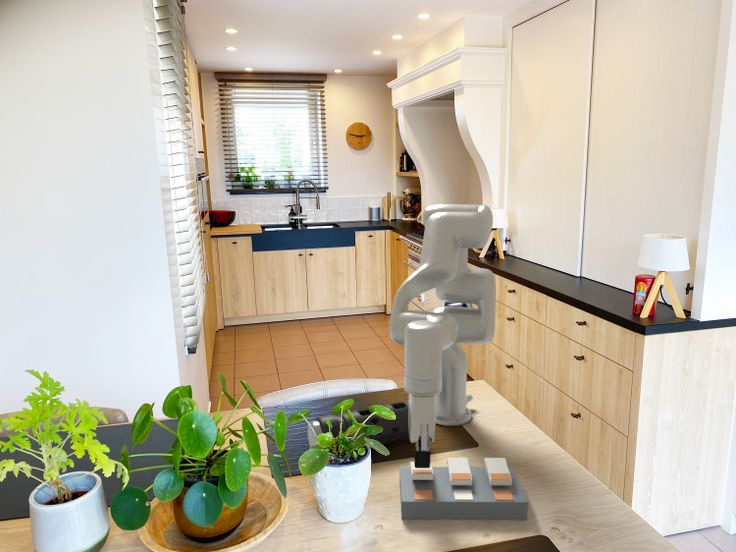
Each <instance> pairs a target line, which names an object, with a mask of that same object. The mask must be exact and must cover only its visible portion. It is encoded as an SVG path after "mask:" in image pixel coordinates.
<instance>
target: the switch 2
mask: <svg viewBox="0 0 736 552" xmlns="http://www.w3.org/2000/svg"><path fill="white" fill-rule="evenodd" d="M446 464H447V465H446V467H448V472H449V478H450V485H472V477H471V472H470V467H471V466H470V463H469V459H468V457H447V458H446Z"/></svg>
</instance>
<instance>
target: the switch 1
mask: <svg viewBox="0 0 736 552" xmlns="http://www.w3.org/2000/svg"><path fill="white" fill-rule="evenodd" d="M409 467H410V468H411V476H412V480H433V470H432V467H433V466H432V462H431V461H430V468H415V464H414V461H409Z"/></svg>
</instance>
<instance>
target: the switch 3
mask: <svg viewBox="0 0 736 552" xmlns="http://www.w3.org/2000/svg"><path fill="white" fill-rule="evenodd" d="M483 460H484V461H483V462H484V467H486V471H487V477H488V480H489V483H490V485H512V479H511V476H510V472H509V469H508V467H509V466H508V463H507V460H506V457H484V459H483Z"/></svg>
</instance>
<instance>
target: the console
mask: <svg viewBox="0 0 736 552" xmlns="http://www.w3.org/2000/svg"><path fill="white" fill-rule="evenodd" d="M469 467H470V472H471V477H472V485H450V478H449V472H448V466H432V470H433V480H412V476H411V468H410V466H399V493H400V494H399V495H400V516H401V520H417V521H418V520H422V521H423V520H426V521H427V520H429V521H430V520H433V521H434V520H437V521H439V520H442V521H444V520H445V521H446V520H447V521H448V520H450V521H453V520H455V521H456V520H459V521H461V520H463V521H528V515H529V514H528V513H529V500H528V499H527V496H526V494H525V491H524V490H523V487H522V484H521V482H520V480H519V477H518V476H517V473H516V470H515V468H514V467H513V466H508V469H509V472H510V476H511V479H512V485H490V483H489V480H488V477H487V471H486V467H485V466H469Z"/></svg>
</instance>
